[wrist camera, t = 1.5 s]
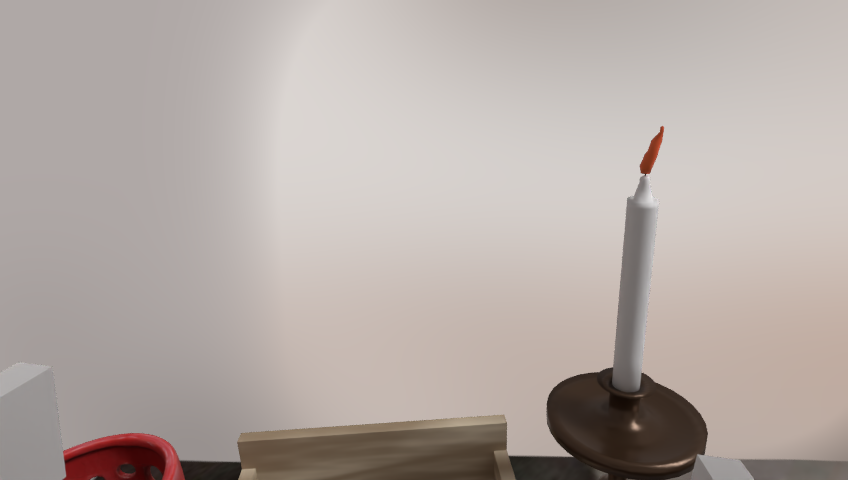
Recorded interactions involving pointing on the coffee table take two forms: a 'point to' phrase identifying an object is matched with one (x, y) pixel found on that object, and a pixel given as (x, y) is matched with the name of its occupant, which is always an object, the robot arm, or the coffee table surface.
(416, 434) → the box
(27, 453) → the robot arm
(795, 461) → the coffee table surface
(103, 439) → the plant pot
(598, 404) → the candlestick
